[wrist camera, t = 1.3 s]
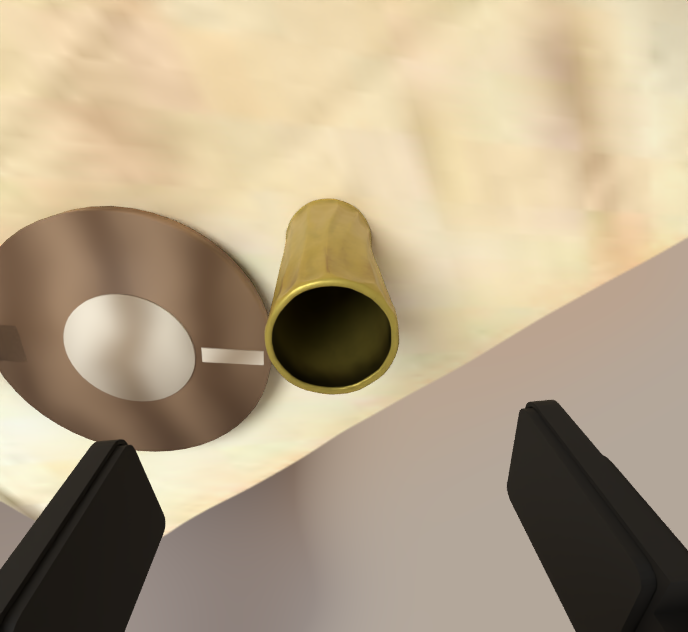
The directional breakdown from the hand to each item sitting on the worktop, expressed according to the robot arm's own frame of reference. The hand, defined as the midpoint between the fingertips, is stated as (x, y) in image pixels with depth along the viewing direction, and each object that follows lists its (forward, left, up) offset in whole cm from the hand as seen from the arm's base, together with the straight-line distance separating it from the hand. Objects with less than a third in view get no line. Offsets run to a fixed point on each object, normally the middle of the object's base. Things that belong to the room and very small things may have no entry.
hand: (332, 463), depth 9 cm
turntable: (+16, +6, -19) cm, 26 cm away
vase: (0, 0, -20) cm, 20 cm away
